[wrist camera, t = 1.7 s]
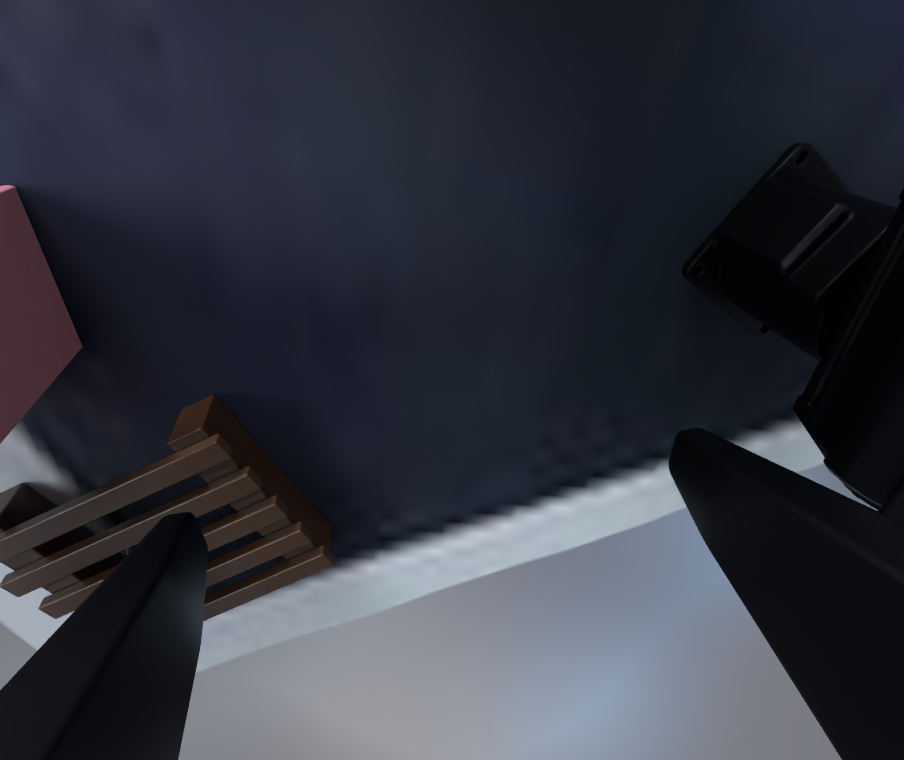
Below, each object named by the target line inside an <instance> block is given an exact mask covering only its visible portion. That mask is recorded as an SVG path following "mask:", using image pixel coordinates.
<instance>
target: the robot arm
mask: <svg viewBox="0 0 904 760" xmlns="http://www.w3.org/2000/svg"><path fill="white" fill-rule="evenodd" d="M799 153H801V154H800V157H799V159H798V160H797V161H796V157H797V156H798V154H799ZM899 199H901V202H900V204H899V206H898V208H896V207H893V206H889V205H886V204H883V203H879V202H876V201H872V200H869V199H866V198H862V197H859V196H856V195H852V194H850V193H849V192H848V191H847V189H846V188H845V187H844V186H843V184H842V183H841V182H840V181H839V179H838V178H837V177H836V176H835V174H834V173H833V172H832V171H831V169H830V168H829V167H828V166H827V164H826V163H825V162H824V161H823V160H822V158H821V157H820V156H819V155H818V153H817V152H816V151H815V150H814V148H813V147H812V146H810V145H808V144H804V143H796V144H794V145H792V146H791V147H789V148H788V149H787V150H786V152H785V153H784V154H783V155H782V156H781V157H780V158H779V159H778V160H777V162H776V163H775V164H774V165H773V166H772V167H771V168H770V169H769V170H768V172H767V173H766V174H765V175H764V176H763V177H762V178H761V179H760V180H759V182H758V183H757V184H756V185H755V186H754V187H753V188H752V189H751V190H750V191H749V193H748V194H747V195H746V196H745V197H744V198H743V199H742V200H741V201H740V203H739V204H738V205H737V206H736V207H735V208H734V209H733V210H732V211H731V213H730V214H729V215H728V216H727V217H726V218H725V219H724V220H723V221H722V223H721V224H720V225H719V226H718V227H717V228H716V229H715V230H714V231H713V233H712V234H711V235H710V236H709V237H708V238H707V239H706V240H705V241H704V243H703V244H702V245H701V246H700V247H699V248H698V249H697V250H696V251H695V253H694V254H693V255H692V256H691V257H690V258H689V259H688V260H687V261H686V263H685V264H684V266H683V268H682V275H683V276H684V277H685V278H686V279H687V280H688V281H690V282H691V283H692V284H693V285H694V286H696V287H697V288H698V289H699V290H700V291H702V292H703V293H704V294H705V295H707V296H708V297H709V298H710V299H711V300H713V301H714V302H715V303H716V304H717V305H719V306H720V307H721V308H722V309H723V310H725V311H726V312H727V313H728V314H730V315H731V316H732V317H733V318H734V319H736V320H737V321H738V322H739V323H740V324H742V325H743V326H744V327H745V328H746V329H748V330H749V331H750V332H751V333H753V334H754V335H756V336H757V337H765V336H767V335H769V334H770V333H771V332H772V331H774V332H776V333H777V334H779V335H780V336H782V337H783V338H785V339H786V340H788V341H789V342H791V343H792V344H794V345H795V346H797V347H798V348H800V349H801V350H803V351H804V352H806V353H807V354H809V355H810V356H812V357H813V358H815V359H816V360H818V361H819V363H818V365H817V367H816V369H815V371H814V373H813V375H812V377H811V379H810V381H809V382H808V384H807V386H806V388H805V390H804V392H803V394H802V395H801V396H798V398H797V400H796V402H795V404H794V406H793V410H794V412H795V413H796V415H797V416H798V418H799V419H800V421H801V422H802V424H803V425H804V427H805V428H806V430H807V431H808V433H809V434H810V436H811V437H812V439H813V440H814V442H815V443H816V445H817V446H818V448H819V449H820V451H821V452H822V454H823V455H824V457H825V459H824V464H825V465H826V467H827V468H828V470H829V471H830V472H831V473H832V474H834V475H835V476H836V477H837V478H838V479H839V480H841V482H842V483H843V484H844V485H845V486H846V487H847V488H848V489H849V490H850V491H851V492H852V493H853V494H854V495H855V496H856V497H858V498H860V499H861V500H863V501H864V502H866V503H867V504H869V505H870V506H872V507H874V508H876V509H878V511H875V510H874V509H871V508H869V507H867V506H865V505H863V504H860V503H859V502H856V501H854V500H852V499H850V498H848V497H846V496H844V495H841V494H840V493H837V492H835V491H833V490H831V489H829V488H826V487H825V486H823V485H820V484H818V483H816V482H814V481H812V480H810V479H808V478H806V477H803V476H801V475H799V474H797V473H795V472H793V471H791V470H789V469H786V468H784V467H782V466H780V465H778V464H776V463H774V462H771V461H769V460H767V459H765V458H763V457H761V456H759V455H757V454H754V453H752V452H750V451H748V450H746V449H744V448H742V447H740V446H737V445H735V444H733V443H731V442H729V441H727V440H725V439H723V438H720V437H718V436H716V435H714V434H712V433H710V432H708V431H706V430H703V429H701V428H693V429H687V430H682V431H679V432H678V434H677V435H676V437H675V441H674V444H673V448H672V451H671V455H670V459H669V470H670V473H671V476H672V478H673V480H674V482H675V484H676V486H677V488H678V490H679V492H680V494H681V496H682V498H683V500H684V502H685V504H686V506H687V508H688V510H689V512H690V514H691V516H692V518H693V520H694V522H695V524H696V526H697V528H698V530H699V532H700V534H701V536H702V537H703V539H704V541H705V543H706V545H707V546H708V548H709V550H710V551H711V553H712V554H713V556H714V558H715V559H716V561H717V562H718V564H719V565H720V567H721V569H722V570H723V572H724V573H725V575H726V576H727V578H728V580H729V581H730V583H731V584H732V586H733V588H734V589H735V591H736V592H737V594H738V596H739V597H740V599H741V600H742V602H743V603H744V605H745V607H746V608H747V610H748V612H749V613H750V615H751V616H752V618H753V619H754V621H755V623H756V624H757V626H758V627H759V629H760V630H761V632H762V634H763V635H764V637H765V638H766V640H767V641H768V643H769V645H770V646H771V648H772V650H773V651H774V653H775V654H776V656H777V657H778V659H779V661H780V662H781V664H782V665H783V667H784V669H785V670H786V672H787V673H788V675H789V677H790V678H791V680H792V681H793V683H794V684H795V686H796V688H797V689H798V691H799V692H800V694H801V696H802V697H803V699H804V700H805V702H806V703H807V705H808V706H809V708H810V710H811V711H812V713H813V715H814V716H815V718H816V719H817V721H818V722H819V724H820V726H821V727H822V729H823V730H824V732H825V734H826V735H827V737H828V738H829V740H830V741H831V743H832V745H833V746H834V748H835V749H836V751H837V752H838V754H839V756H840V757H841V759H842V760H904V189H903V191H902V193H901V194H900V196H899ZM697 266H698V269H697V270H696V271H695V272H694V273H692V271H693V270H694V268H695V267H697ZM762 326H763V327H762ZM761 327H762V328H761ZM207 566H208V546H207V542H206V540H205V538H204V535H203V533H202V531H201V529H200V527H199V524H198V522H197V520H196V518H195V516H194V515H193V514H192V513H191V512H181V513H175V514H169V515H166V516H164V517H163V518H162V519H161V520H160V521H159V522H158V523H157V524H156V525H155V526H154V527H153V528H152V529H151V530H150V531H149V532H148V533H147V535H146V536H145V537H144V538H143V539H142V540H141V541H140V542H139V543H138V544H137V545H136V546H135V547H134V548H133V549H132V551H131V552H130V553H129V554H128V555H127V556H126V557H125V558H124V559H123V560H122V561H121V562H120V563H119V564H118V565H117V567H116V568H115V569H114V570H113V571H112V572H111V573H110V574H109V575H108V576H107V577H106V578H105V579H104V580H103V581H102V583H101V584H100V585H99V586H98V587H97V588H96V589H95V590H94V591H93V592H92V593H91V594H90V595H89V596H88V597H87V599H86V600H85V601H84V602H83V603H82V604H81V605H80V606H79V607H78V608H77V609H76V610H75V611H74V612H73V613H72V615H71V616H70V617H69V618H68V619H67V620H66V621H65V622H64V623H63V624H62V625H61V626H60V627H59V628H58V629H57V631H56V632H55V633H54V634H53V635H52V636H51V637H50V638H49V639H48V640H47V641H46V642H45V643H44V644H43V645H42V647H41V648H40V649H39V650H38V651H37V652H36V653H35V654H34V655H33V656H32V657H31V658H30V659H29V661H27V662H26V664H25V665H24V666H23V667H22V668H21V669H20V670H19V671H18V672H17V673H16V674H15V675H14V676H13V677H12V679H11V680H10V681H9V682H8V683H7V684H6V685H5V686H4V687H3V688H2V689H1V690H0V760H178V757H179V752H180V747H181V742H182V737H183V732H184V727H185V722H186V717H187V712H188V707H189V702H190V697H191V692H192V687H193V681H194V677H195V672H196V667H197V662H198V657H199V651H200V645H201V637H202V628H203V615H204V603H205V591H206V578H207Z"/></svg>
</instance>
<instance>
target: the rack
mask: <svg viewBox="0 0 904 760" xmlns="http://www.w3.org/2000/svg"><path fill="white" fill-rule="evenodd" d="M167 445H168V446H169V447H170V448H171V449H172V450H174V451H175V452H176V453H174V454H172V455H170V456H168V457H165V458H163V459H161V460H159V461H157V462H154V463H152V464H150V465H148V466H146V467H143V468H141V469H139V470H137V471H135V472H133V473H130V474H128V475H126V476H124V477H122V478H119V479H117V480H115V481H113V482H111V483H109V484H106V485H104V486H102V487H100V488H98V489H95V490H93V491H91V492H89V493H87V494H85V495H82V496H80V497H78V498H76V499H74V500H71V501H69V502H67V503H65V504H63V505H60V506H58V507H56V506H55V505H54V504H52V503H51V502H50V501H48V500H47V499H45V498H44V497H43V496H41V495H40V494H39V493H37V492H36V491H34V490H33V489H32V488H30V487H29V486H28V485H26V484H25V483H21V484H19V485H17V486H15V487H13V488H11V489H8V490H6V491H4V492H2V493H0V563H3V564H4V565H6V566H8V567H9V568H11V569H13V570H14V572H12V573H9V574H7V575H6V576H5V577H4V579H3V580H2V582H1V584H0V587H1V588H3V589H4V590H6V591H8V592H10V593H11V594H13V595H15V596H17V597H20V596H22V595H25V594H27V593H29V592H31V591H33V590H36V589H38V588H40V587H42V588H44V589H45V590H47V591H49V592H50V593H52V594H51V595H49V596H47V597H45V598H44V599H43V601H42V602H41V604H40V606H39V610H41V611H43V612H44V613H46V614H48V615H49V616H51V617H53V618H55V619H57V618H59V617H61V616H63V615H66V614H68V613H70V612H73V611H75V610H76V609H77V608H78V607H79V606H80V605H81V604H82V603H83V602H84V601H85V600H86V599H87V597H88V596H89V595H90V594H91V593H92V592H93V591H94V590H95V589H96V588H97V587H98V586H99V585H100V584H101V583H102V581H103V580H104V579H105V578H106V577H107V576H108V575H109V574H110V573H111V572H112V571H113V570H114V569H115V568H116V567H117V565H118V564H119V563H120V562H121V561H122V560H123V559H124V558H125V556H123V555H122V554H121V553H119V552H121V551H123V550H125V549H128V548H130V547H132V546H134V545H137V544H138V543H139V542H140V541H141V540H142V539H143V538H144V537H145V536H146V535H147V533H148V532H149V531H150V530H151V529H152V528H153V527H154V526H155V525H156V524H157V523H158V522H159V521H160V520H161V519H162V518H163V517H164V516H166V515H169V514H175V513H181V512H191V513H192V514H193V515H194V516H195V518H197V517H200V516H202V515H204V514H206V513H209V512H211V511H213V510H215V509H217V508H220V507H222V506H224V505H226V504H230V505H231V506H232V507H233V508H234V509H235V510H236V511H237V512H236V513H234V514H232V515H230V516H227V517H225V518H223V519H220V520H218V521H216V522H214V523H211V524H209V525H207V526H205V527H202V528H200V529H201V531H202V533H203V535H204V538H205V540H206V542H207V546H208V552H209V551H211V550H214V549H216V548H218V547H221V546H223V545H225V544H227V543H230V542H232V541H234V540H236V539H239V538H241V537H243V536H246V535H248V534H250V533H252V532H255V531H258V532H259V533H260V534H261V535H262V536H263V537H264V538H261V539H259V540H257V541H254V542H252V543H250V544H248V545H245V546H243V547H241V548H238V549H236V550H234V551H232V552H229V553H227V554H225V555H222V556H220V557H218V558H216V559H213V560H211V561H209V562H208V566H207V578H206V588H207V587H210V586H212V585H214V584H216V583H219V582H221V581H223V580H226V579H228V578H230V577H233V576H235V575H237V574H240V573H242V572H244V571H246V570H249V569H251V568H253V567H256V566H258V565H260V564H263V563H265V562H267V561H270V560H272V559H274V558H276V557H279V556H281V555H283V556H284V557H285V558H286V559H287V560H288V561H285V562H283V563H281V564H278V565H276V566H274V567H271V568H269V569H267V570H264V571H262V572H260V573H257V574H255V575H253V576H251V577H248V578H246V579H244V580H241V581H239V582H237V583H234V584H232V585H230V586H227V587H225V588H223V589H220V590H218V591H216V592H214V593H211V594H209V595H207V596H205V603H204V615H203V621H205V620H207V619H209V618H212V617H214V616H216V615H219V614H221V613H223V612H226V611H228V610H230V609H233V608H235V607H237V606H240V605H242V604H244V603H247V602H249V601H251V600H254V599H256V598H258V597H261V596H263V595H265V594H268V593H270V592H272V591H275V590H277V589H279V588H282V587H284V586H286V585H289V584H291V583H293V582H296V581H298V580H300V579H303V578H305V577H307V576H310V575H312V574H314V573H317V572H319V571H321V570H324V569H326V568H328V567H331V566H333V555H332V554H331V553H332V526H331V525H330V524H329V523H328V522H327V521H326V520H325V518H324V517H323V516H322V515H321V514H320V513H319V512H318V511H317V509H316V508H315V507H314V506H313V505H312V504H311V503H310V502H309V500H308V499H307V498H306V497H305V496H304V495H303V494H302V493H301V491H300V490H299V489H298V488H297V487H296V486H295V485H294V484H293V482H292V481H291V480H290V479H289V478H288V477H287V476H286V475H285V473H284V472H283V471H282V470H281V469H280V468H279V467H278V466H277V464H276V463H275V462H274V461H273V460H272V459H271V458H270V457H269V455H268V454H267V453H266V452H265V451H264V450H263V449H262V448H261V446H260V445H259V444H258V443H257V442H256V441H255V440H254V439H253V437H252V436H251V435H250V434H249V433H248V432H247V431H246V430H245V428H244V427H243V426H242V425H241V424H240V423H239V422H238V421H237V419H236V418H235V417H234V416H233V415H232V414H231V413H230V412H229V410H228V409H227V408H226V407H225V406H224V405H223V404H222V403H221V401H220V400H219V399H218V398H217V397H216V396H215V395H214V394H213V395H210V396H208V397H206V398H204V399H202V400H200V401H198V402H195V403H193V404H191V405H189V406H187V407H185V408H183V409H182V410H181V412H180V415H179V417H178V419H177V422H176V424H175V426H174V428H173V431H172V433H171V435H170V438H169V440H168V442H167ZM195 474H198V475H200V476H201V477H202V478H203V479H204V480H205V481H206V482H207V483H208V484H207V485H205V486H203V487H200V488H198V489H196V490H194V491H191V492H189V493H187V494H185V495H183V496H180V497H178V498H176V499H174V500H171V501H169V502H167V503H165V504H163V505H160V506H158V507H156V508H154V509H151V510H149V511H147V512H145V513H143V514H140V515H138V516H136V517H134V518H131V519H129V520H127V521H125V522H123V523H120V524H118V525H116V526H114V527H111V528H109V529H107V530H105V531H103V532H100V533H98V534H96V535H95V534H93V533H92V532H91V531H89V530H88V529H86V528H85V527H84V526H83V525H85V524H87V523H89V522H91V521H94V520H96V519H98V518H100V517H102V516H105V515H107V514H109V513H111V512H113V511H116V510H118V509H120V508H122V507H125V506H127V505H129V504H131V503H133V502H136V501H138V500H140V499H142V498H144V497H147V496H149V495H151V494H153V493H155V492H158V491H160V490H162V489H164V488H166V487H169V486H171V485H173V484H175V483H178V482H180V481H182V480H184V479H186V478H189V477H191V476H193V475H195Z"/></svg>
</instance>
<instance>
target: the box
mask: <svg viewBox="0 0 904 760" xmlns="http://www.w3.org/2000/svg"><path fill="white" fill-rule="evenodd" d="M81 348H82V344H81V342H80V339H79V337H78V335H77V332H76V330H75V327H74V325H73V323H72V320H71V318H70V316H69V313H68V311H67V308H66V306H65V304H64V301H63V299H62V297H61V294H60V292H59V289H58V287H57V285H56V282H55V280H54V278H53V275H52V273H51V270H50V268H49V266H48V263H47V261H46V259H45V256H44V254H43V252H42V249H41V247H40V244H39V242H38V240H37V237H36V235H35V233H34V230H33V228H32V225H31V223H30V221H29V218H28V216H27V214H26V211H25V209H24V206H23V204H22V202H21V199H20V197H19V195H18V192H17V190H16V187H15V186H0V443H1V442H2V441H3V440H4V439H5V437H6V436H7V435H8V434H9V433H10V432H11V430H12V429H13V428H14V427H15V426H16V425H17V423H18V422H19V421H20V420H21V419H22V417H23V416H24V415H25V414H26V413H27V412H28V410H29V409H30V408H31V407H32V406H33V405H34V403H35V402H36V401H37V400H38V399H39V398H40V396H41V395H42V394H43V393H44V392H45V391H46V389H47V388H48V387H49V386H50V385H51V383H52V382H53V381H54V380H55V379H56V378H57V376H58V375H59V374H60V373H61V372H62V371H63V369H64V368H65V367H66V366H67V365H68V364H69V362H70V361H71V360H72V359H73V358H74V357H75V355H76V354H77V353H78V352H79V351H80V350H81Z"/></svg>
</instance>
